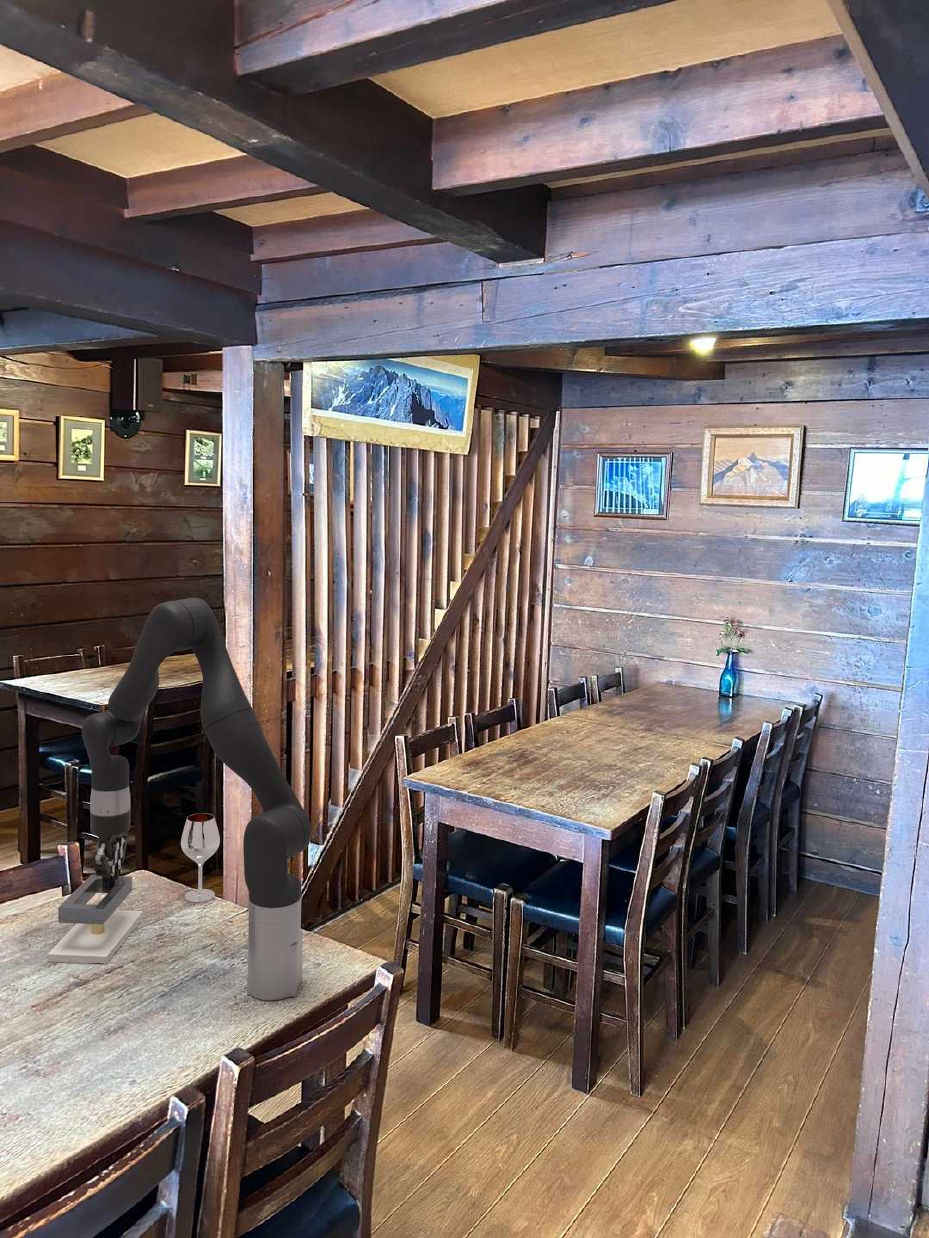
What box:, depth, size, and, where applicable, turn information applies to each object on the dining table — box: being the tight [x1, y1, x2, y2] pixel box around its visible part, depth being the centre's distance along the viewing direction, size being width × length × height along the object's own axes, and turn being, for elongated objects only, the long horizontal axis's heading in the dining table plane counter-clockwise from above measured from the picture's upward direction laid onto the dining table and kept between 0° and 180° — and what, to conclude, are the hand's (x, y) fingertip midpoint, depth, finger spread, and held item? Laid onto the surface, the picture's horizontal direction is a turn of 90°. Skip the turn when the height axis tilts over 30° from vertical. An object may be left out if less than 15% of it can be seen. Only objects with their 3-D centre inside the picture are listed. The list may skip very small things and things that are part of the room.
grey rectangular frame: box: [57, 874, 133, 924], centre depth 176 cm, size 15×8×3 cm, turn 0°
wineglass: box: [180, 812, 221, 903], centre depth 197 cm, size 8×8×18 cm
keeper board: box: [47, 900, 144, 965], centre depth 176 cm, size 11×19×8 cm, turn 0°
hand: (110, 889), depth 182 cm, fingers closed on grey rectangular frame
